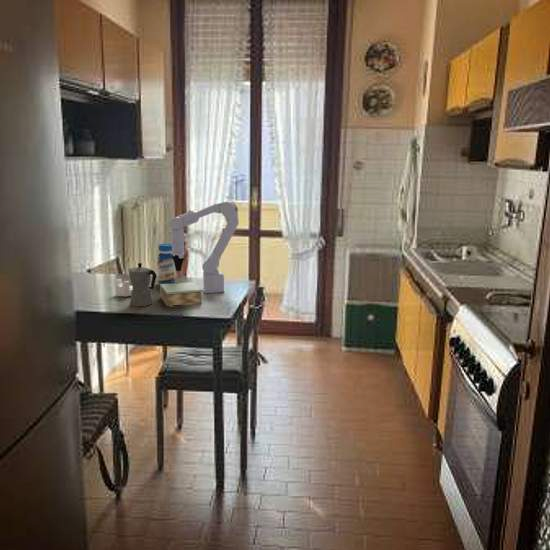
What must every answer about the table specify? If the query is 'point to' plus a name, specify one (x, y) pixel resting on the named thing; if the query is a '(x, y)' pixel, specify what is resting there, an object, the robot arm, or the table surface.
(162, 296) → the box
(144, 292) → the coffeepot
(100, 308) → the table surface
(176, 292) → the lid
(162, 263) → the beverage bottle
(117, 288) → the bracket
